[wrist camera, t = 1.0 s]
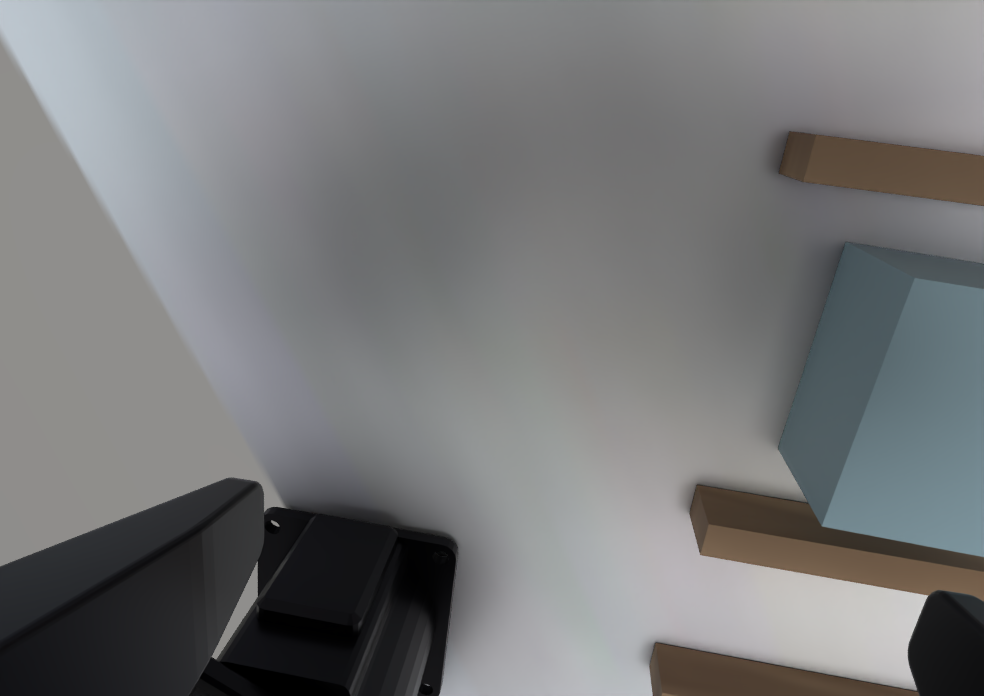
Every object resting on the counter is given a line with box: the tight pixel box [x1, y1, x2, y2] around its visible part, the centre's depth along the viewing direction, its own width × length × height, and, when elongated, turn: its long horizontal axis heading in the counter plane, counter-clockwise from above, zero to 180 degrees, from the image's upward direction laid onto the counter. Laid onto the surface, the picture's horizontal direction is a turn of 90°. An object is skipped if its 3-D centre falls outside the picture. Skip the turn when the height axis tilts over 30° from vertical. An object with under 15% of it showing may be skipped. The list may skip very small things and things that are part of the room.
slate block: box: [778, 242, 984, 557], centre depth 16 cm, size 6×6×4 cm
